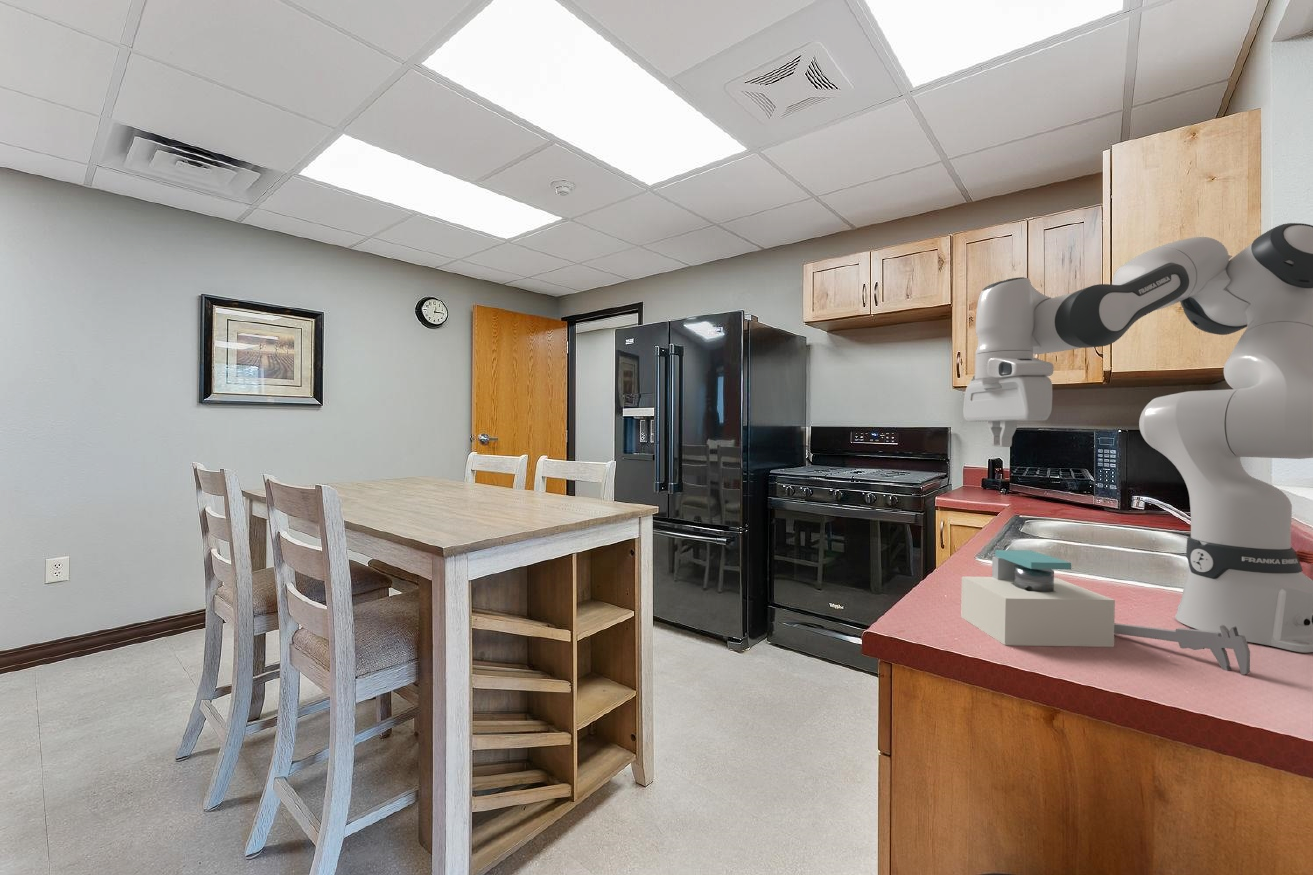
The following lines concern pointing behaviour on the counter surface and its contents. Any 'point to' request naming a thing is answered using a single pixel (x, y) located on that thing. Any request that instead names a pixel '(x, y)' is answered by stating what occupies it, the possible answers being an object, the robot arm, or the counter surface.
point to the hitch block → (1036, 611)
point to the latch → (1032, 559)
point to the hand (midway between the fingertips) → (1001, 446)
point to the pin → (1034, 579)
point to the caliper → (1198, 641)
